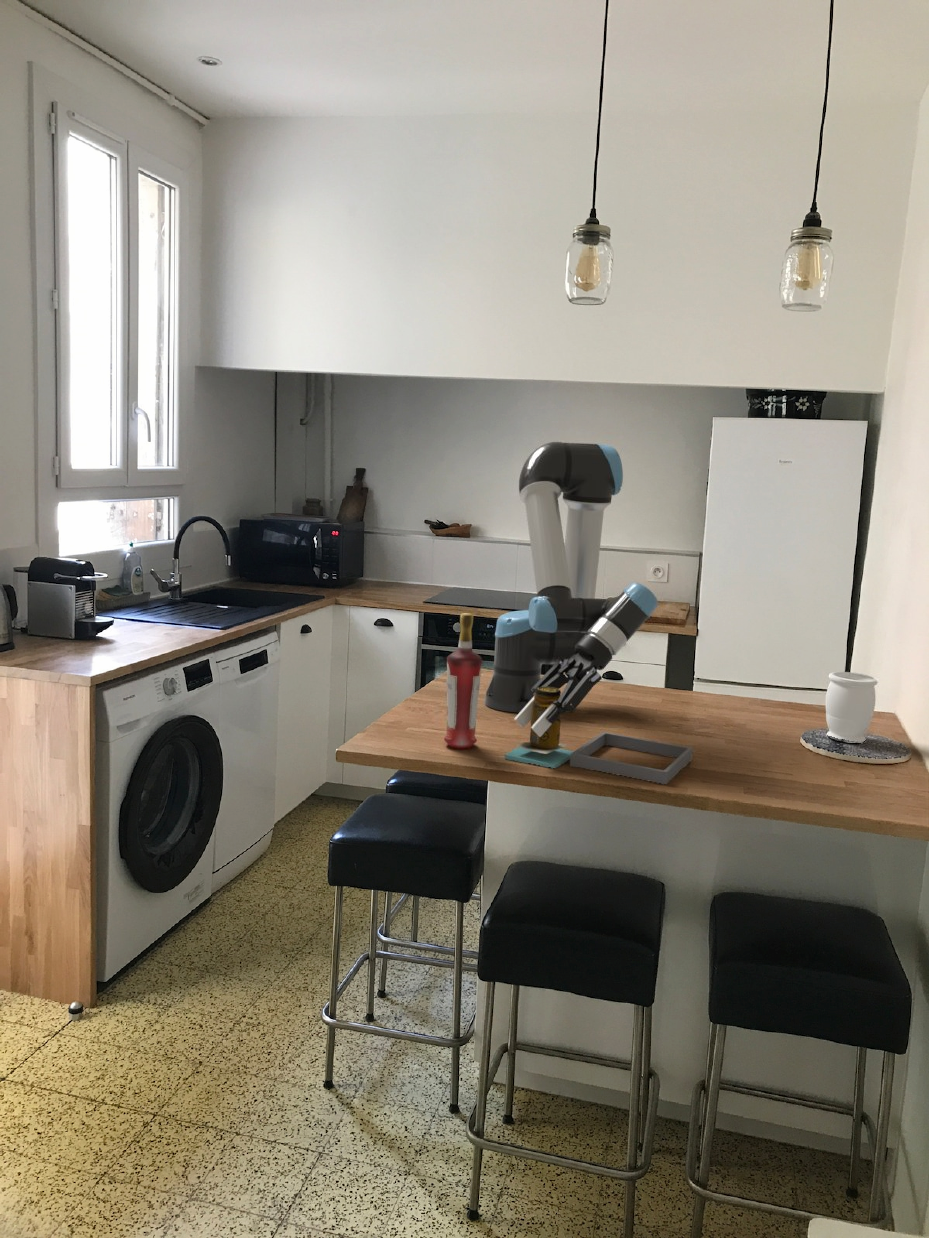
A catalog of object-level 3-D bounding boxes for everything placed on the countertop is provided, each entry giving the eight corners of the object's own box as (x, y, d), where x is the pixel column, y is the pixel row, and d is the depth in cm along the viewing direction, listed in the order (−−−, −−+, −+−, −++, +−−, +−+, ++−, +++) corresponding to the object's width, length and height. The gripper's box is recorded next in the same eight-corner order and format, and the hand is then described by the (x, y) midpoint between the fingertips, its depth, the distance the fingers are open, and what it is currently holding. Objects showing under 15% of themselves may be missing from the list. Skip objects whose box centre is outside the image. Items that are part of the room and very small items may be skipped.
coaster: (504, 758, 196) (504, 754, 196) (526, 745, 206) (526, 742, 206) (555, 768, 191) (555, 764, 191) (574, 755, 201) (575, 751, 201)
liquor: (441, 740, 207) (447, 611, 202) (475, 741, 207) (482, 612, 203) (443, 750, 199) (450, 616, 195) (479, 751, 200) (486, 618, 196)
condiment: (567, 745, 199) (571, 689, 197) (546, 754, 192) (549, 696, 190) (537, 738, 203) (540, 683, 201) (515, 747, 196) (518, 689, 195)
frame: (569, 765, 194) (570, 753, 193) (602, 742, 211) (603, 731, 210) (665, 784, 185) (666, 772, 184) (691, 759, 202) (692, 747, 202)
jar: (877, 740, 224) (885, 677, 222) (860, 748, 217) (868, 683, 214) (832, 730, 231) (839, 669, 229) (814, 738, 224) (821, 674, 221)
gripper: (637, 666, 194) (562, 752, 189) (584, 648, 210) (514, 727, 206) (617, 641, 190) (540, 728, 186) (565, 625, 207) (493, 704, 202)
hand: (527, 727), depth 196 cm, fingers closed on condiment, 6 cm apart
